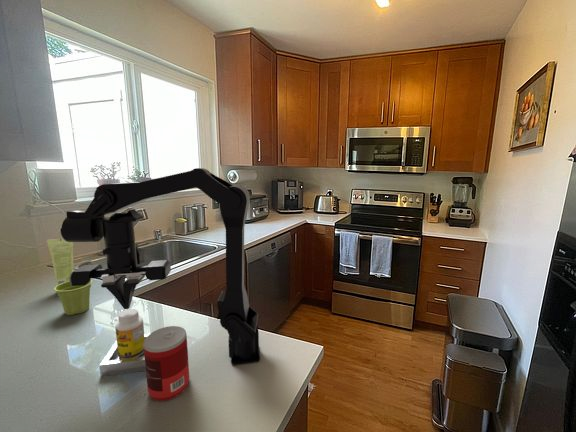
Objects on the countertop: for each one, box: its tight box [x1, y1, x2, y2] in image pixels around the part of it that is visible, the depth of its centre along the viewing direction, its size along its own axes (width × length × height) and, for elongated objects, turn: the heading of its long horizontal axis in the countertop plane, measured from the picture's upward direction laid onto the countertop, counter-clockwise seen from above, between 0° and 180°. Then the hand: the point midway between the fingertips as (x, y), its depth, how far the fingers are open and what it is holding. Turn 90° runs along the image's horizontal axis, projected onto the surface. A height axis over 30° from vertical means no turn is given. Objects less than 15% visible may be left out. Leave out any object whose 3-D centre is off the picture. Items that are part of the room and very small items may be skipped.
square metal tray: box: [99, 333, 150, 377], centre depth 66 cm, size 11×10×3 cm
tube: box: [46, 238, 74, 286], centre depth 102 cm, size 6×5×20 cm
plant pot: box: [53, 279, 93, 316], centre depth 87 cm, size 9×9×9 cm
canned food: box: [143, 325, 190, 402], centre depth 56 cm, size 8×8×11 cm
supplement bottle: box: [114, 308, 145, 359], centre depth 65 cm, size 6×6×10 cm
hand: (127, 308), depth 64 cm, fingers closed
